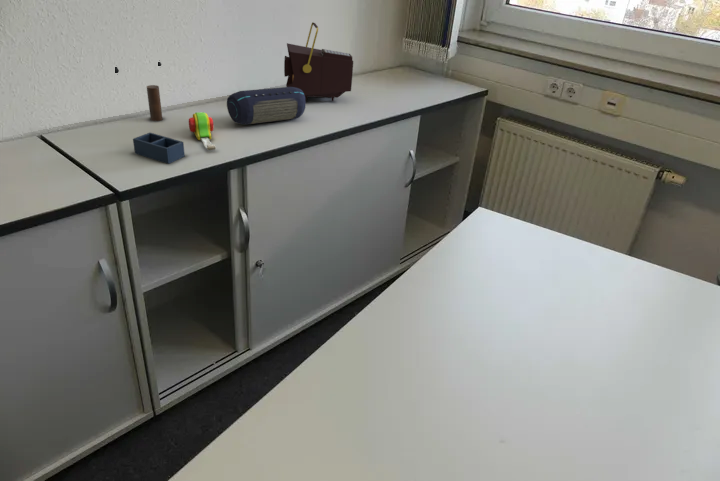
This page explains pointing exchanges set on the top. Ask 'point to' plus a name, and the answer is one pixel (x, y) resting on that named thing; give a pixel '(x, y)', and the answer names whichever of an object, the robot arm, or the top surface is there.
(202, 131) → the toy measuring tape
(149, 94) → the brown cylinder
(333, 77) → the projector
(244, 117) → the portable speaker
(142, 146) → the divided box
